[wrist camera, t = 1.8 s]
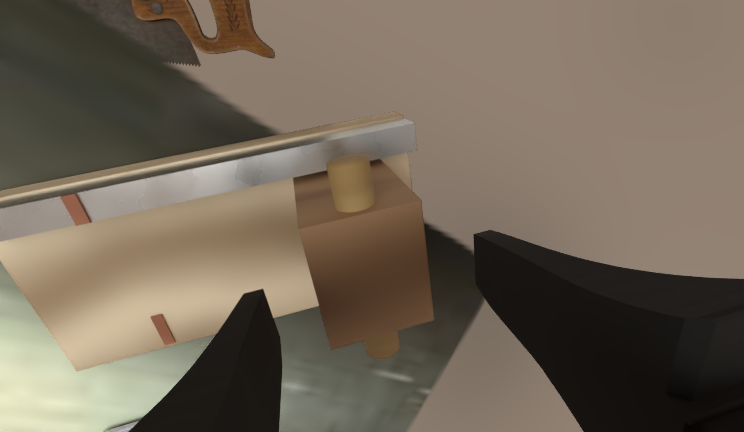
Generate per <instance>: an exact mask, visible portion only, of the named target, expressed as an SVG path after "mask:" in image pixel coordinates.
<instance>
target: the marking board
mask: <svg viewBox="0 0 744 432" xmlns="http://www.w3.org/2000/svg"><path fill="white" fill-rule="evenodd" d="M413 151H417V141H416V131H415V123H414V122H412V121H410V120H407V119H405V118H404V116H403V115H401V114H399V113H397V112H389V113H384V114H380V115H374V116H369V117H365V118H359V119H354V120H350V121H344V122H339V123H334V124H330V125H325V126H320V127H315V128H310V129H305V130H300V131H295V132H290V133H285V134H280V135H275V136H270V137H265V138H260V139H255V140H250V141H245V142H240V143H235V144H230V145H225V146H220V147H215V148H210V149H205V150H200V151H195V152H190V153H185V154H180V155H175V156H170V157H165V158H160V159H155V160H150V161H145V162H140V163H135V164H130V165H125V166H121V167H116V168H111V169H106V170H101V171H96V172H91V173H86V174H81V175H76V176H71V177H66V178H61V179H56V180H51V181H46V182H41V183H36V184H31V185H26V186H21V187H16V188H11V189H6V190H1V191H0V261H1V262H2V264H3V265H4V267H5V268H6V269H7V271H8V272H9V274H10V275H11V277H12V278H13V280H14V281H15V282H16V284H17V285H18V287H19V288H20V290H21V291H22V293H23V294H24V295H25V297H26V298H27V300H28V301H29V303H30V304H31V306H32V307H33V308H34V310H35V311H36V313H37V314H38V316H39V317H40V319H41V320H42V322H43V323H44V324H45V326H46V327H47V329H48V330H49V332H50V333H51V335H52V336H53V337H54V339H55V340H56V342H57V343H58V345H59V346H60V348H61V349H62V350H63V352H64V353H65V355H66V356H67V358H68V359H69V361H70V362H71V364H72V365H73V366H74V368H75V369H76V371H80V370H84V369H88V368H91V367H95V366H99V365H102V364H106V363H110V362H113V361H117V360H121V359H125V358H128V357H132V356H136V355H139V354H143V353H147V352H150V351H154V350H158V349H161V348H165V347H169V346H172V345H176V344H180V343H184V342H187V341H191V340H195V339H198V338H202V337H206V336H209V335H213V334H217V333H218V331H219V330H220V328H221V327H222V325H223V324H224V322H225V321H226V319H227V318H228V316H229V315H230V313H231V312H232V310H233V309H234V307H235V306H236V304H237V303H238V301H239V300H240V298H241V297H242V295H243V294H244V293H248V292H252V291H256V290H259V289H263V290H264V292H265V295H266V298H267V301H268V304H269V307H270V310H271V313H272V316H273V318H276V317H279V316H283V315H287V314H290V313H294V312H298V311H301V310H305V309H309V308H313V307H316V306H319V304H318V300H317V296H316V293H315V289H314V285H313V282H312V278H311V274H310V271H309V267H308V263H307V259H306V256H305V252H304V248H303V245H302V241H301V237H300V234H299V230H298V221H297V211H296V202H295V192H294V182H293V178H294V177H299V176H303V175H308V174H312V173H317V172H321V171H326V170H327V167H326V164H327V163H328V162H329V161H330V160H333V159H335V158H338V157H341V156H346V155H353V154H363V155H367V156H368V157H369V161H372V160H376V159H381V160H382V161H383V162H384V163H385V164H386V165H387V166H388V167H389V168H390V169H391V170H392V171H393V172H394V173H395V174H396V175H397V176H398V177H399V178H400V179H401V180H402V181H403V182H404V183H405V184H406V185H407V186H408V187H409V188H410V189H411V190H412V183H411V175H410V166H409V158H408V152H413Z"/></svg>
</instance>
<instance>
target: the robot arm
mask: <svg viewBox="0 0 744 432" xmlns="http://www.w3.org/2000/svg"><path fill="white" fill-rule="evenodd" d="M474 256H475V280H476V285H477V286H478V288H479V290H480V291H481V293H482V294H483V296H484V298H485V299H486V301H487V302H488V304H489V305H490V307H491V308H492V309H493V310H494V312H495V313H496V314H497V315H498V316H499V317H500V319H501V320H502V321H503V322H504V324H505V325H506V326H507V327H508V328H509V329H510V331H511V332H512V333H513V334H514V335H515V336H516V338H517V339H518V340H519V341H520V342H521V343H522V345H523V346H524V347H525V348H526V349H527V350H528V352H529V353H530V354H531V355H532V356H533V358H534V359H535V360H536V362H537V363H538V364H539V365H540V367H541V368H542V369H543V371H544V372H545V374H546V375H547V377H548V378H549V380H550V381H551V383H552V384H553V385H554V387H555V388H556V390H557V391H558V393H559V394H560V396H561V397H562V399H563V400H564V402H565V403H566V405H567V406H568V408H569V409H570V411H571V413H572V414H573V416H574V417H575V419H576V420H577V422H578V423H579V425H580V427H581V428H582V430H583V431H584V432H744V279H727V278H704V277H693V276H681V275H671V274H662V273H654V272H647V271H641V270H634V269H628V268H622V267H616V266H611V265H607V264H603V263H598V262H593V261H589V260H585V259H581V258H577V257H574V256H570V255H567V254H563V253H560V252H557V251H553V250H550V249H547V248H544V247H541V246H538V245H535V244H532V243H529V242H526V241H523V240H520V239H517V238H515V237H512V236H509V235H505V234H502V233H499V232H495V231H492V230H488V231H485V232H481V233H477V234H474ZM281 382H282V355H281V343H280V336H279V333H278V330H277V327H276V324H275V321H274V319H273V316H272V313H271V310H270V307H269V304H268V301H267V298H266V295H265V292H264V290H263V289H259V290H256V291H252V292H248V293H244V294H243V295H242V297H241V298H240V300H239V301H238V303H237V304H236V306H235V307H234V309H233V310H232V312H231V313H230V315H229V316H228V318H227V319H226V321H225V322H224V324H223V325H222V327H221V328H220V330H219V331H218V333H217V334H216V335H215V337H214V338H213V340H212V341H211V342H210V344H209V345H208V346H207V348H206V349H205V350H204V352H203V353H202V354H201V355H200V357H199V358H198V359H197V361H196V362H195V363H194V364H193V366H192V367H191V368H190V369H189V370H188V372H187V373H186V374H185V375H184V376H183V377H182V378H181V380H180V381H179V382H178V383H177V384H176V385H175V386H174V387H173V388H172V389H171V390H170V392H169V393H168V394H167V395H166V396H165V397H164V398H163V399H162V400H161V401H160V402H159V403H158V404H157V405H156V406H155V407H153V408H152V409H151V410H150V411H149V412H148V413H147V414H146V415H145V416H144V417H143V418H142V419H141V420H140V421H137V422H133V423H130V424H126V425H123V426H120V427H116V428H113V429H110V430H106V431H104V432H279V418H280V400H281Z"/></svg>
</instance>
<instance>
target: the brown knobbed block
mask: <svg viewBox="0 0 744 432" xmlns="http://www.w3.org/2000/svg"><path fill="white" fill-rule="evenodd" d="M326 167H327V170H326V171H321V172H317V173H312V174H308V175H303V176H299V177H294V178H293V182H294V192H295V202H296V211H297V221H298V230H299V234H300V237H301V241H302V245H303V248H304V252H305V256H306V259H307V263H308V267H309V271H310V274H311V278H312V282H313V285H314V289H315V293H316V296H317V300H318V304H319V307H320V311H321V315H322V318H323V322H324V326H325V329H326V333H327V337H328V340H329V344H330V348H331V350H333V349H336V348H340V347H343V346H347V345H350V344H354V343H357V342H361V341H364V342H365V347H366V351H367V353H368V354H369V356H371V357H373V358H375V359H386V358H389V357H391V356H393V355H394V354H395V353H396V352H397V351H398V349H399V338H398V332H397V331H399V330H402V329H405V328H409V327H412V326H416V325H419V324H423V323H426V322H430V321H433V320H434V315H433V305H432V296H431V287H430V277H429V268H428V258H427V249H426V240H425V230H424V221H423V212H422V202H421V199H420V198H419V197H418V196H416V194H415V193H414V192H413V191H412V190H411V189H410V188H409V187H408V186H407V185H406V184H405V183H404V182H403V181H402V180H401V179H400V178H399V177H398V176H397V175H396V174H395V173H394V172H393V171H392V170H391V169H390V168H389V167H388V166H387V165H386V164H385V163H384V162H383V161H382V160H381V159H376V160H372V161H369V157H368V156H367V155H363V154H353V155H346V156H341V157H338V158H335V159H333V160H330V161H329V162H328V163H327V164H326Z"/></svg>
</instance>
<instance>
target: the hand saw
mask: <svg viewBox="0 0 744 432" xmlns="http://www.w3.org/2000/svg"><path fill="white" fill-rule="evenodd" d="M68 1H70V2H71V3H72V4H73V5H75V6H77V7H78V8H80V9H82V10H84V11H86V12H88V13H90V14H91V15H93V16H94V17H96V18H97V19H98V20H100V21H101V22H103V23H105V24H107V25H109V26H111V27H113V28H115V29H116V30H118V31H120V32H122V33H123V34H124V35H126V36H127V37H128V38H130V39H132V40H134V41H136V42H138V43H140V44H142V45H143V46H145V47H147V48H148V49H150V50H151V51H152V52H153V53H155V54H157V55H159V56H160V57H162V58H164V59H166V60H168V61H169V62H172V63H173V64H174V63H176V64H178V63H179V64H181V63H182V64H183V65H184V64H186V65H187V64H189V65H191V64H192V66H194V64H195V66H197V65H198V66H199V67H200V65H201V64H200V62H199V59H198V57H197V54H196V52H195V49H194V47H193V45H192V43H193V44H194V45H195V46H196V47H197V48H198V49H199V50H200V51H202V52H204V53H209V54H219V53H226V52H231V51H236V50H247V51H250V52H252V53H255V54H258V55H260V56H263V57H267V58H274V57H275V53H274V51H273V49H272V48H270V47H269V46H268V45H267V44H265V43H264V42H263V41H262V40H261V39H260V38H259V37H258V35H257V34H256V32H255V30H254V26H253V22H252V15H251V9H250V2H249V0H209V1H210V4H211V7H212V10H213V13H214V16H215V20H216V24H217V35H216V37H214V38H208V37H206V36H205V35H204V34H203V32H202V30H201V27H200V24H199V22H198V19H197V17H196V15H195V12H194V10H193V8H192V6H191V4H190V3H189V1H188V0H68ZM191 42H192V43H191Z"/></svg>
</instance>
